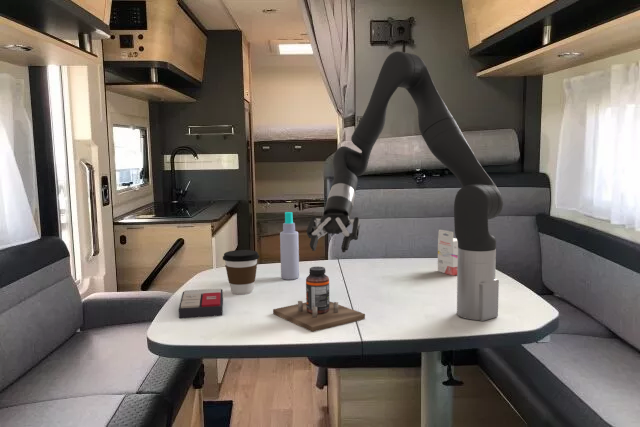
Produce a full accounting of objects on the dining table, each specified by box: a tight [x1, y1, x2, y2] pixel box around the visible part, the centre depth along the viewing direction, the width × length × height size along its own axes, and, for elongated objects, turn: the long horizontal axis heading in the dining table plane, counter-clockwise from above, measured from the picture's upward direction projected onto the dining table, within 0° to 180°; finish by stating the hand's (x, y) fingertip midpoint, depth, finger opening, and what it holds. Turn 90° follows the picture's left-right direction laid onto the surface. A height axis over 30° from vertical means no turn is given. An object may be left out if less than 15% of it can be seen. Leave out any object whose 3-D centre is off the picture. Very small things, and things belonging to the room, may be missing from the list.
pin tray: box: [272, 300, 366, 333], centre depth 139 cm, size 18×16×4 cm
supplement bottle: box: [305, 266, 331, 314], centre depth 139 cm, size 6×6×11 cm
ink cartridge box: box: [437, 229, 458, 277], centre depth 185 cm, size 9×5×15 cm, turn 25°
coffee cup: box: [222, 249, 260, 295], centre depth 164 cm, size 11×11×12 cm
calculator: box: [178, 288, 224, 319], centre depth 147 cm, size 11×4×15 cm
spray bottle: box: [279, 211, 300, 281], centre depth 180 cm, size 6×6×22 cm
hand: (328, 249), depth 145 cm, fingers open, 8 cm apart
